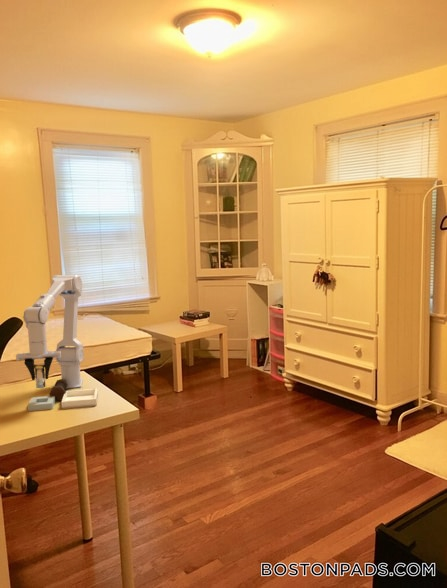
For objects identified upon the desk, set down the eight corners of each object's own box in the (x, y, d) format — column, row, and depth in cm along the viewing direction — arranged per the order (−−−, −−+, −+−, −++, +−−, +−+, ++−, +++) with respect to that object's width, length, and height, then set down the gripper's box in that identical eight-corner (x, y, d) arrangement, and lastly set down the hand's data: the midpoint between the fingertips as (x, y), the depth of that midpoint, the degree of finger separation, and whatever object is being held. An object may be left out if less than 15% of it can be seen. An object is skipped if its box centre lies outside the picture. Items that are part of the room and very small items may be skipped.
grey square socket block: (32, 402, 176) (31, 397, 175) (55, 400, 177) (55, 395, 177) (28, 410, 168) (27, 405, 167) (52, 408, 169) (52, 403, 169)
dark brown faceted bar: (64, 391, 192) (60, 403, 177) (52, 386, 191) (46, 398, 176) (71, 378, 192) (67, 389, 177) (59, 373, 191) (54, 383, 176)
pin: (35, 385, 173) (34, 363, 172) (47, 384, 174) (46, 362, 173) (33, 389, 169) (32, 366, 168) (46, 388, 170) (44, 365, 169)
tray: (65, 397, 180) (65, 391, 180) (97, 394, 183) (97, 388, 182) (61, 408, 169) (61, 401, 169) (96, 405, 172) (96, 398, 171)
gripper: (12, 345, 164) (15, 384, 166) (58, 342, 167) (60, 380, 169) (17, 340, 171) (20, 377, 173) (60, 337, 174) (62, 374, 176)
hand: (40, 378), depth 171 cm, fingers closed on pin, 4 cm apart
